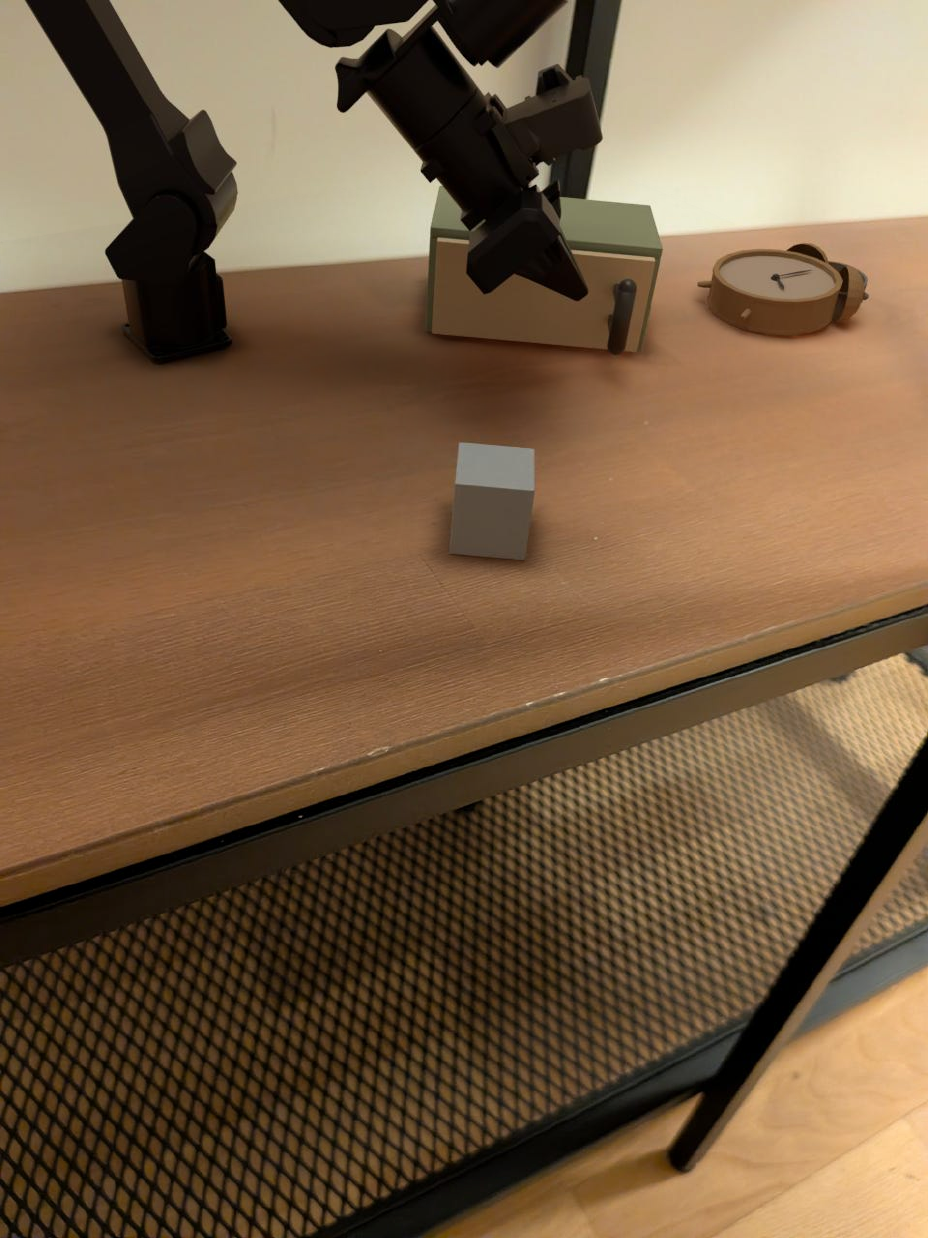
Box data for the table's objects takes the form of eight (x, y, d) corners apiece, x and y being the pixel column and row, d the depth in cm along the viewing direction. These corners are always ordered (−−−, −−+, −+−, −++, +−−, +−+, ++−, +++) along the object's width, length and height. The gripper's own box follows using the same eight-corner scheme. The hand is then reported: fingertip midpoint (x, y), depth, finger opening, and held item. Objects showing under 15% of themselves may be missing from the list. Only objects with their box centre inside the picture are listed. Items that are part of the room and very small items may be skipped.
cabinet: (425, 331, 79) (430, 226, 73) (433, 283, 86) (439, 185, 81) (641, 351, 79) (663, 248, 74) (631, 301, 87) (650, 204, 81)
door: (427, 361, 74) (432, 264, 69) (432, 329, 78) (437, 236, 73) (642, 380, 74) (662, 286, 69) (635, 347, 79) (654, 256, 74)
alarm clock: (686, 259, 87) (826, 220, 90) (682, 310, 91) (817, 271, 94) (756, 311, 80) (907, 266, 83) (749, 364, 83) (894, 319, 86)
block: (524, 560, 57) (534, 490, 53) (449, 554, 57) (454, 483, 53) (524, 516, 60) (534, 448, 57) (453, 510, 60) (459, 441, 57)
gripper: (543, 60, 53) (694, 277, 60) (540, 1, 67) (662, 182, 74) (396, 195, 58) (552, 379, 65) (422, 113, 72) (547, 273, 79)
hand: (583, 295), depth 71 cm, fingers closed
